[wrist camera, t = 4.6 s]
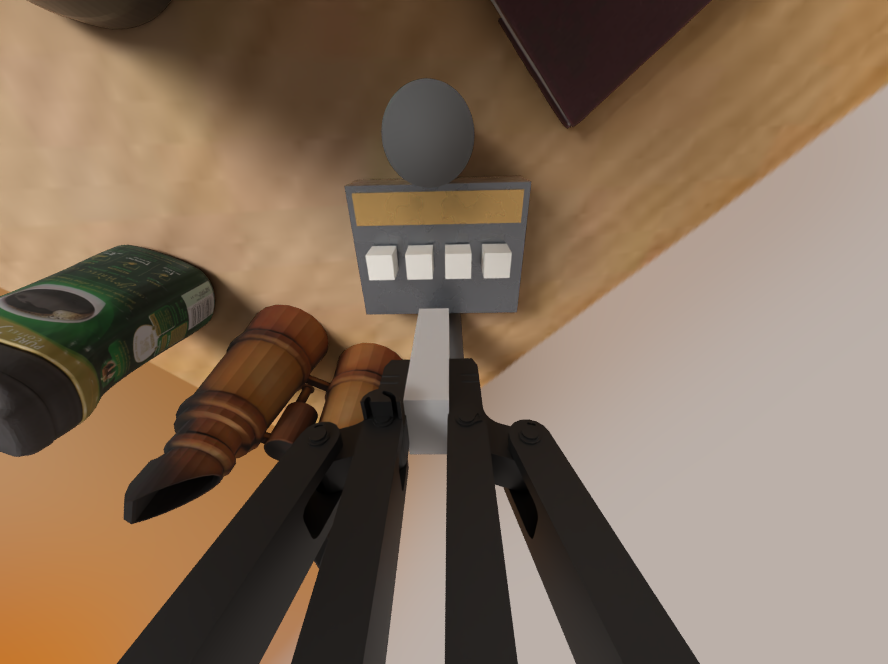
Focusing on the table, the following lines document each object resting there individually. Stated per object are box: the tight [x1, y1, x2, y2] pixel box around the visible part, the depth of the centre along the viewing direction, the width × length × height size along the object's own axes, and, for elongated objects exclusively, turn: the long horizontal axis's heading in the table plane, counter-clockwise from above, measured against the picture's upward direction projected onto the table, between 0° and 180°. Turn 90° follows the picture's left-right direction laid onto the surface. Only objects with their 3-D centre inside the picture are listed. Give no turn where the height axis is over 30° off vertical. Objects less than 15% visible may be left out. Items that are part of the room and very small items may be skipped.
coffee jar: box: [0, 245, 215, 457], centre depth 25 cm, size 10×8×19 cm
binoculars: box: [124, 305, 402, 568], centre depth 29 cm, size 18×8×20 cm, turn 61°
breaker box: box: [345, 176, 531, 314], centre depth 28 cm, size 11×14×4 cm
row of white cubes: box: [366, 244, 512, 280], centre depth 25 cm, size 2×11×2 cm, turn 91°
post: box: [381, 78, 474, 188], centre depth 20 cm, size 4×4×14 cm
